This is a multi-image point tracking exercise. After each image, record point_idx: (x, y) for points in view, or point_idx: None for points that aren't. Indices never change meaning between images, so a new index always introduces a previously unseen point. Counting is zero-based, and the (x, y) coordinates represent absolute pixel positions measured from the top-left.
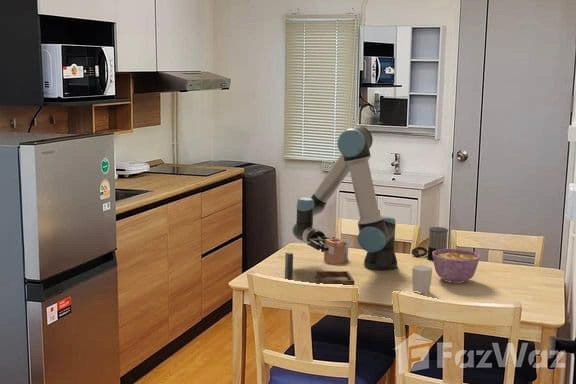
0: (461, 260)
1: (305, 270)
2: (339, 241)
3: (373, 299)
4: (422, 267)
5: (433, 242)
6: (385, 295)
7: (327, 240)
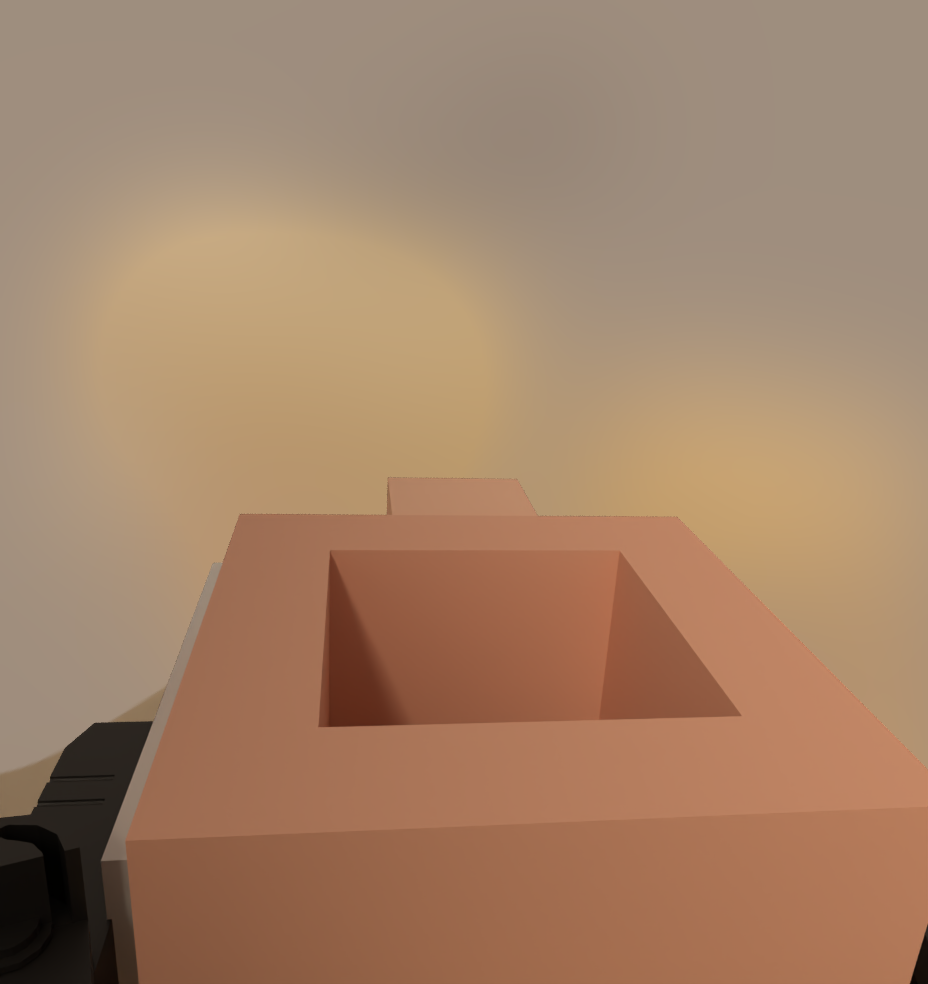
0: None
1: None
2: (382, 540)
3: None
4: None
5: None
6: (143, 710)
7: (807, 659)
